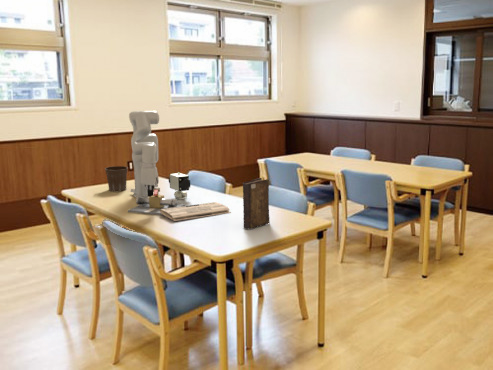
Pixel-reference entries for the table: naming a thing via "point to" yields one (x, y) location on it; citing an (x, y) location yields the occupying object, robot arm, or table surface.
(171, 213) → the newspaper
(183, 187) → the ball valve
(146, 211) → the board
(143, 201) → the valve body
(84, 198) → the table surface
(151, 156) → the robot arm
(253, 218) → the book
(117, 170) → the plant pot
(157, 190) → the lever
